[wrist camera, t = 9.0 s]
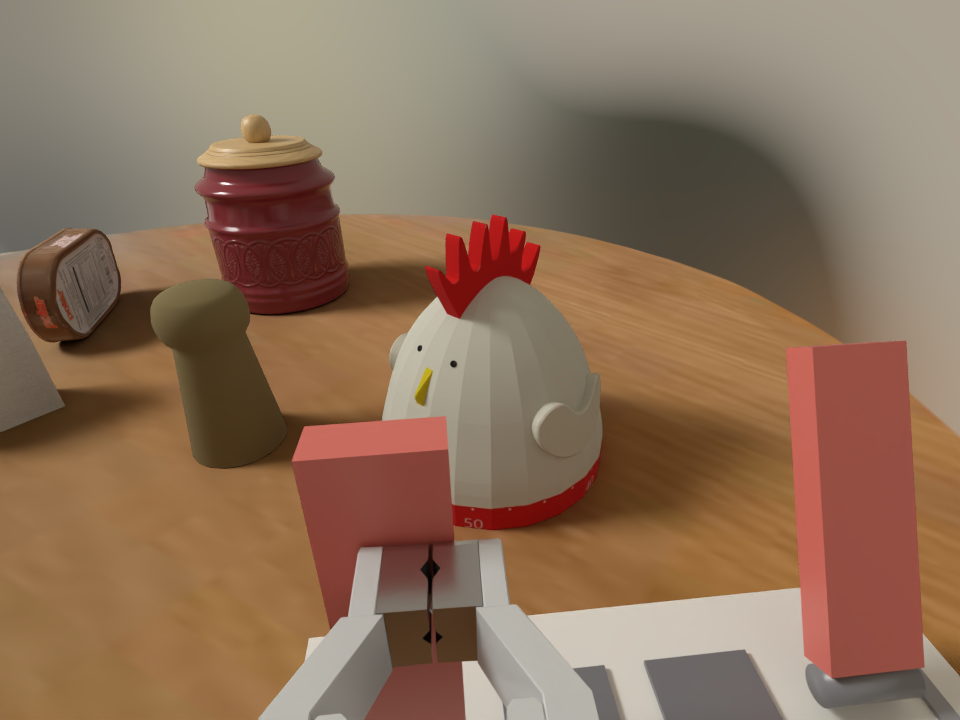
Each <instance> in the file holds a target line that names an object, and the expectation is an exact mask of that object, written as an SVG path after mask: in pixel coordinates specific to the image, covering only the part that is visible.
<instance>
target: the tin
mask: <svg viewBox="0 0 960 720" xmlns="http://www.w3.org/2000/svg"><path fill="white" fill-rule="evenodd" d="M120 291H121V277H120V272H119V270H118V267H117V264H116V260H115V257H114V254H113V251H112V246H111V243H110V241H109V239H108V238H107V237H106V235H105V234H103V233H102V232H101V231H99V230H97V229H73V228H65V229H63V230H61V231H60V232H58V233H56V234H55V235H53V236H52V237H50V238H48V239H47V240H45V241H44V242H42V243H41V244H39V245H37V246H35V247H34V248H32V249H30V250H29V251H27V252H26V253H25V254H24V256H23V257H22V259H21V261H20V264H19V268H18V273H17V293H18V298H19V302H20V306H21V310H22V312H23V314H24V317H25V319H26V321H27V323H28V325H29V326H30V328H31V329H32V330H33V332H34V333H35V334H36V335H37V336H38V337H39V338H41V339H42V340H44V341H47V342H58V341H66V340H78V339H83V338H86V337H87V336H89V335H90V334H91V333H92V332H93V331H94V329H95V328H96V327H97V326H98V325H99V324H100V323H101V321H102V320H103V319H104V318H105V317H106V316H107V315H108V313H109V312H110V311H111V310H112V309H113V308H114V306H115V305H116V304H117V302H118V300H119V297H120Z"/></svg>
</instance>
